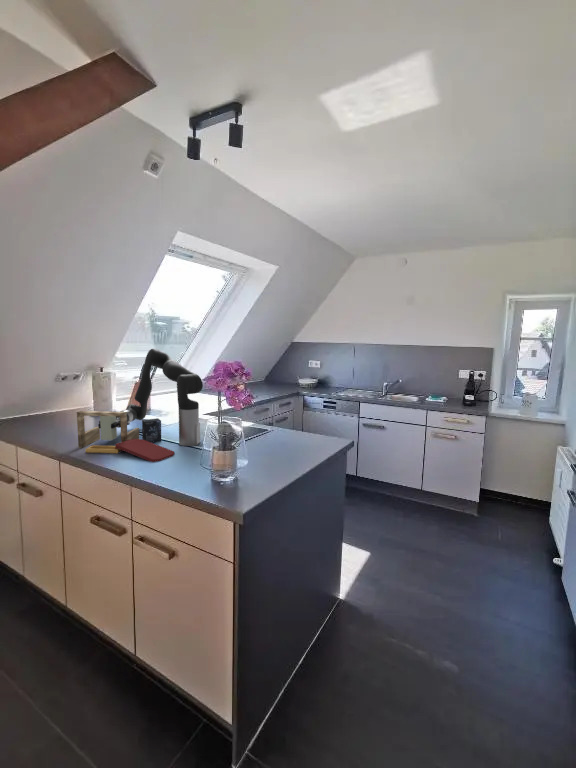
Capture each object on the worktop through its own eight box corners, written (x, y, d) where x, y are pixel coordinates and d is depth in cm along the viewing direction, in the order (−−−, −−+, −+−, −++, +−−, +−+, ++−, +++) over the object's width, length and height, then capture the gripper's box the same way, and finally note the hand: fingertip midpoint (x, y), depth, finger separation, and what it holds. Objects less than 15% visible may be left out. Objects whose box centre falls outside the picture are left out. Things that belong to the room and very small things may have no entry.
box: (144, 443, 176) (144, 421, 175) (142, 440, 181) (141, 419, 180) (161, 441, 181) (161, 420, 179) (158, 438, 185) (158, 418, 184)
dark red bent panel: (175, 463, 162) (133, 446, 172) (176, 452, 161) (134, 436, 171) (154, 471, 151) (110, 453, 161) (155, 460, 150) (111, 442, 160)
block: (116, 437, 176) (115, 412, 175) (111, 440, 171) (110, 414, 170) (106, 437, 176) (105, 412, 175) (101, 439, 171) (99, 414, 170)
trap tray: (123, 449, 166) (123, 446, 165) (117, 453, 160) (117, 449, 160) (92, 449, 166) (92, 445, 166) (85, 453, 160) (85, 448, 160)
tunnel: (139, 439, 183) (138, 406, 181) (124, 449, 167) (123, 413, 165) (97, 438, 183) (95, 405, 181) (78, 448, 167) (76, 412, 165)
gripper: (108, 410, 187) (89, 418, 170) (136, 411, 186) (120, 418, 170) (108, 425, 188) (90, 433, 171) (136, 425, 187) (121, 434, 170)
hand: (105, 426), depth 170 cm, fingers closed on block, 5 cm apart
